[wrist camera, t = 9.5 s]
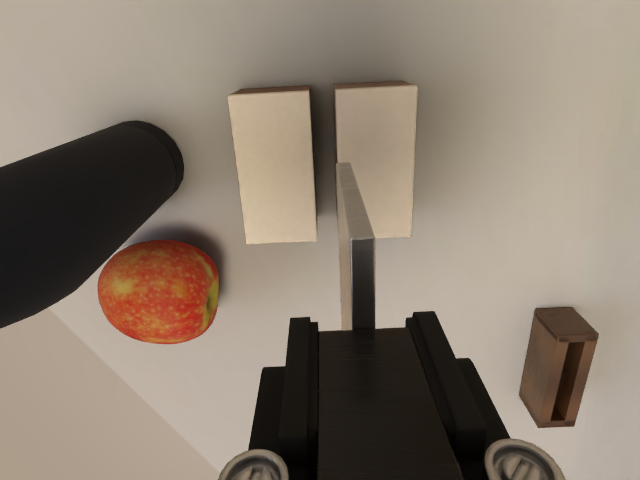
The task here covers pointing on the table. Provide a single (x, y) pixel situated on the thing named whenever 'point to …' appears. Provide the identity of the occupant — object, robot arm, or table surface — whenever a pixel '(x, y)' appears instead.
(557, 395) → the knife block
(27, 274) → the wine bottle
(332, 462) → the knife
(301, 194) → the cake
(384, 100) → the cake slice
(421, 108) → the table surface
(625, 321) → the table surface
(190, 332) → the apple
